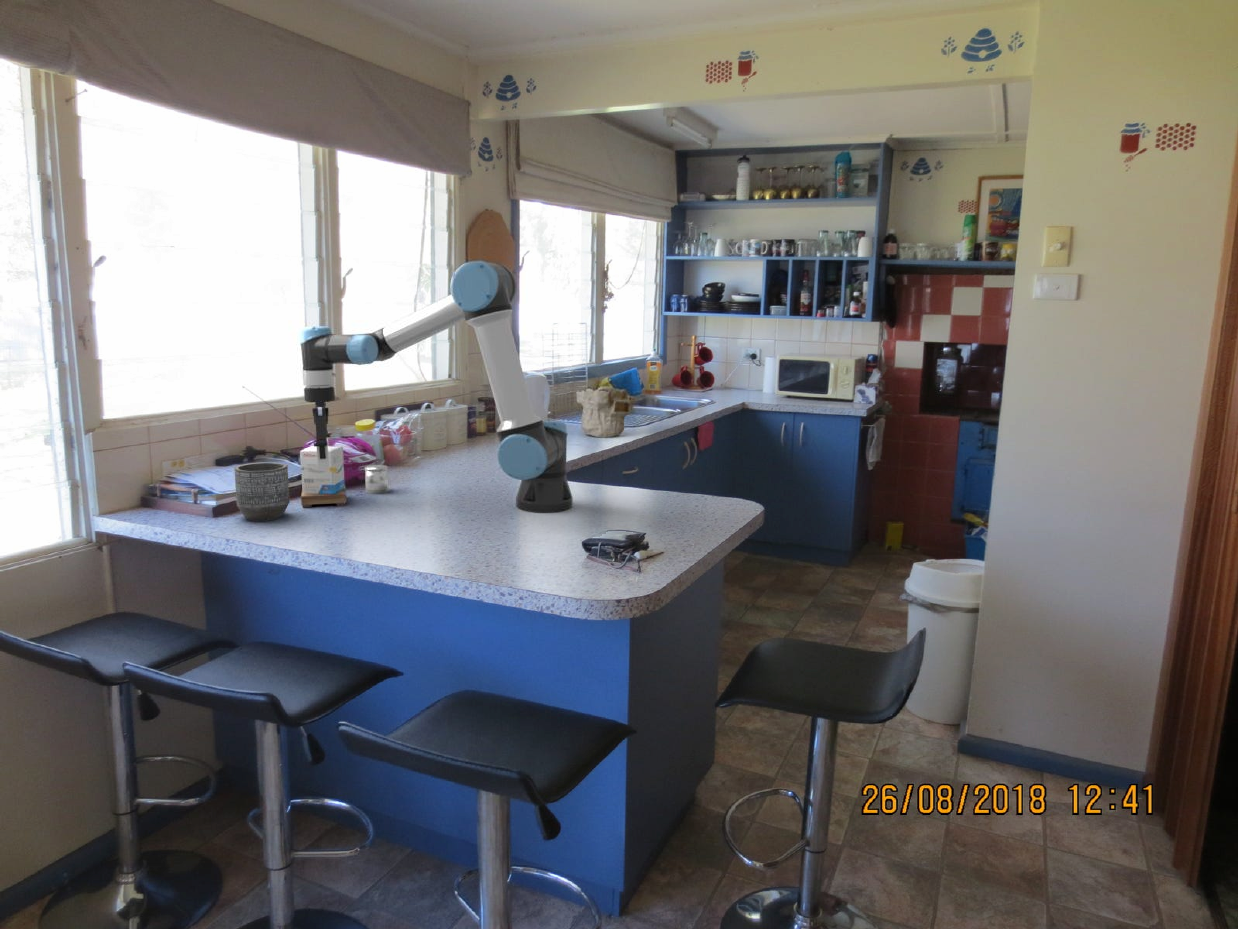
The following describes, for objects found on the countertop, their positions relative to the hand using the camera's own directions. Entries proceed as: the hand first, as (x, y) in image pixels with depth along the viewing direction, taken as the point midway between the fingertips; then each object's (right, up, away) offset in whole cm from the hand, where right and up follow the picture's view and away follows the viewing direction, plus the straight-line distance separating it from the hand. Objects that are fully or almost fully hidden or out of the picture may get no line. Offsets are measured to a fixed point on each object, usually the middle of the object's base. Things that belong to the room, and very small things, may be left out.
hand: (324, 466), depth 228 cm
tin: (+10, -7, +15) cm, 20 cm away
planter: (-10, -13, -15) cm, 22 cm away
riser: (-1, -9, +2) cm, 10 cm away
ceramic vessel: (+73, +13, +126) cm, 147 cm away
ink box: (0, -7, +1) cm, 7 cm away
